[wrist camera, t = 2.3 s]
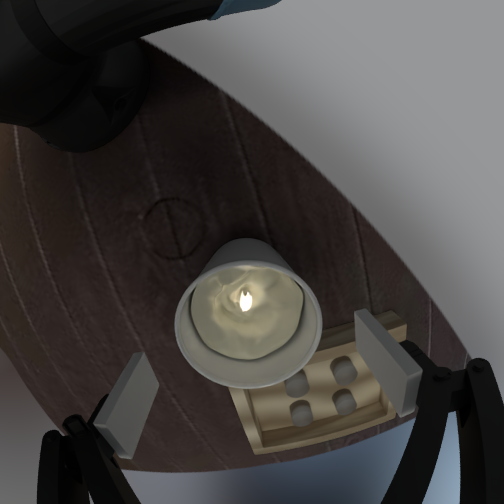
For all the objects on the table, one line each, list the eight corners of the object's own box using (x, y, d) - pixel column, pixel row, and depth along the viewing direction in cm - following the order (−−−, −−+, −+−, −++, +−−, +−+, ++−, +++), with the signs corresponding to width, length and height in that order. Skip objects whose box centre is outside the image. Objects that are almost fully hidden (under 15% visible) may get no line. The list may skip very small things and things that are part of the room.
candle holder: (262, 211, 28) (277, 230, 16) (308, 289, 30) (344, 349, 18) (181, 261, 28) (145, 310, 17) (232, 332, 31) (228, 406, 19)
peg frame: (224, 350, 31) (222, 370, 27) (391, 309, 31) (406, 324, 27) (253, 435, 35) (254, 454, 31) (385, 401, 35) (394, 417, 31)
